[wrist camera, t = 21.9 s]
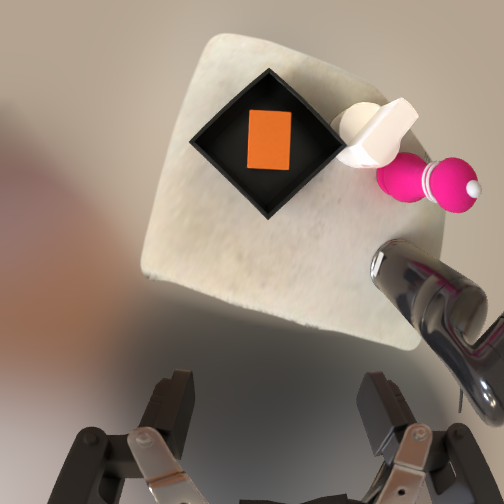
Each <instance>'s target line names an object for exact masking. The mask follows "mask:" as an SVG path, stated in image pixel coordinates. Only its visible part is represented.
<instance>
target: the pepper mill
mask: <svg viewBox="0 0 504 504" xmlns="http://www.w3.org/2000/svg"><path fill="white" fill-rule="evenodd" d="M377 181H378V184H379V186H380V188H381V189H382V190H383V191H384V192H385V193H387V194H389V195H392V196H393V197H394V198H395V199H397V200H399V201H401V202H407V203H412V202H416V201H419V200H421V199H422V198H424V197H427V198H428V199H429V200H430V201H432V202H434V203H438V204H439V205H440V206H441V207H442V208H443V209H445V210H447V211H449V212H453V213H462V212H465V211H467V210H468V209H470V208H471V207H472V206H473V204H474V203H475V201H476V199H477V197H479V196H480V194H481V192H482V188H481V185H480V183H479V182H478V180H477V176H476V173H475V171H474V170H473V168H472V167H471V166H470V165H469V164H468V163H467V162H465V161H464V160H462V159H458V158H446V159H445V160H443V161H434V162H431V163H429V164H427V163H426V162H425V161H424V160H423V159H421V158H420V157H418V156H417V155H415V154H411V153H403V152H402V153H398V154H397V155H396V157H395V159H394V160H393V161H392V162H390V163H389V164H388V165H386V166H384V167H381V168H377Z"/></svg>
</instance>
